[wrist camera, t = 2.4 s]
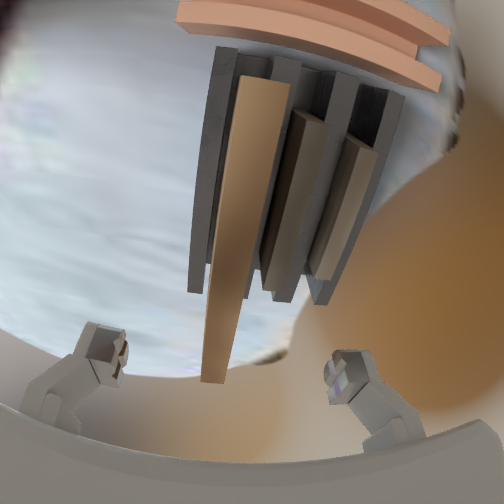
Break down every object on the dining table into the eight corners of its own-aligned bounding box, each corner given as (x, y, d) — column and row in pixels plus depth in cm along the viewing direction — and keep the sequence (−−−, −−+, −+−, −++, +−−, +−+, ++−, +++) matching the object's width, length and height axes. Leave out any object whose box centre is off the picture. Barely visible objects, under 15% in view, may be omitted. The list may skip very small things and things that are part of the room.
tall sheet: (212, 249, 31) (200, 381, 18) (239, 75, 21) (243, 75, 8) (227, 251, 32) (223, 384, 18) (258, 78, 22) (290, 84, 8)
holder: (189, 33, 20) (175, 21, 14) (203, -26, 16) (193, -51, 11) (401, 85, 23) (438, 93, 17) (412, 32, 19) (450, 30, 14)
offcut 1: (256, 238, 31) (262, 290, 24) (286, 106, 23) (306, 120, 16) (271, 240, 31) (281, 292, 24) (304, 110, 23) (330, 126, 17)
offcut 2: (299, 236, 31) (314, 278, 25) (331, 127, 24) (360, 147, 18) (313, 238, 31) (330, 280, 25) (346, 132, 24) (378, 152, 19)
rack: (192, 253, 33) (185, 291, 28) (219, 52, 21) (213, 45, 16) (315, 268, 35) (328, 305, 30) (373, 89, 23) (406, 97, 18)
